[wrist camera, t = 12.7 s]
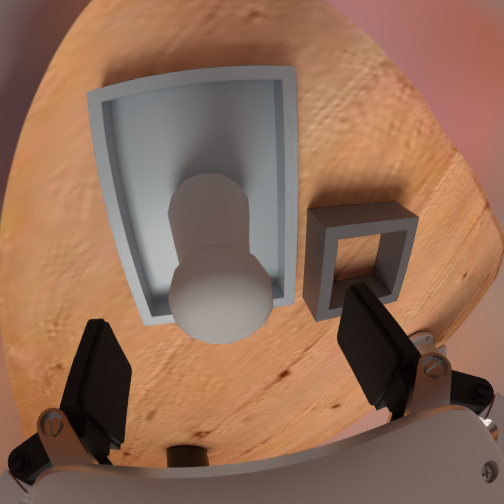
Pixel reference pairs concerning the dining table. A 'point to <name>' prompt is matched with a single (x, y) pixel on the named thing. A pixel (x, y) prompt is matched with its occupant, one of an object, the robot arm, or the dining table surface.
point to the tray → (197, 166)
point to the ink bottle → (186, 457)
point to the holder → (348, 226)
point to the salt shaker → (216, 262)
